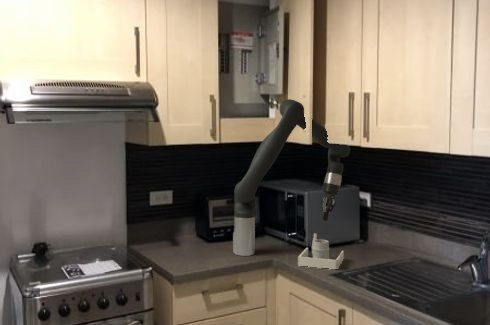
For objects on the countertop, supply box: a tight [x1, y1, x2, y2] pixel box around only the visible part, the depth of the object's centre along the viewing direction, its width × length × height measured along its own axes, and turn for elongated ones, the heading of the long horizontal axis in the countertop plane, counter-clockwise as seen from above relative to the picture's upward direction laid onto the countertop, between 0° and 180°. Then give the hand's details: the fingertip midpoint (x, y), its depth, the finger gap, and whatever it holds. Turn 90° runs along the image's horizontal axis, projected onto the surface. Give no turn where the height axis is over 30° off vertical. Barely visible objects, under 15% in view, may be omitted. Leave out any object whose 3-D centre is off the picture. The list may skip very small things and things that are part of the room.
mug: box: [311, 232, 331, 259], centre depth 232 cm, size 8×12×12 cm, turn 19°
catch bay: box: [297, 247, 345, 270], centre depth 232 cm, size 17×17×4 cm
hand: (324, 220), depth 247 cm, fingers closed
